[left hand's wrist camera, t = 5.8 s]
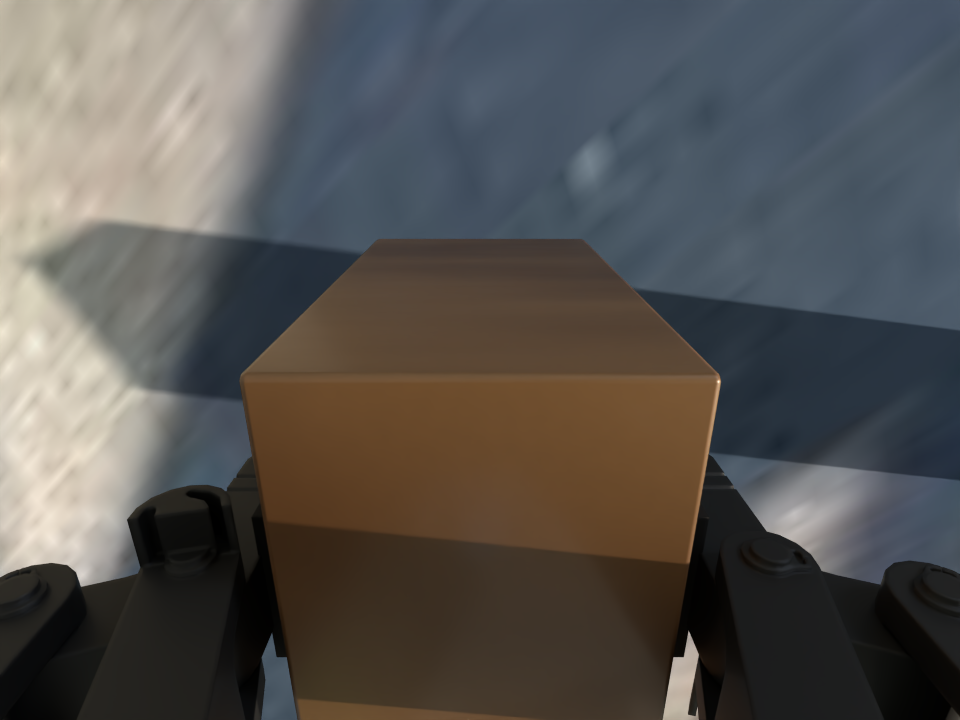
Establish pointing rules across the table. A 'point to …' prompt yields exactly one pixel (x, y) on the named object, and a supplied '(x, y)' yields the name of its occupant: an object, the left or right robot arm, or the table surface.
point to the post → (480, 485)
